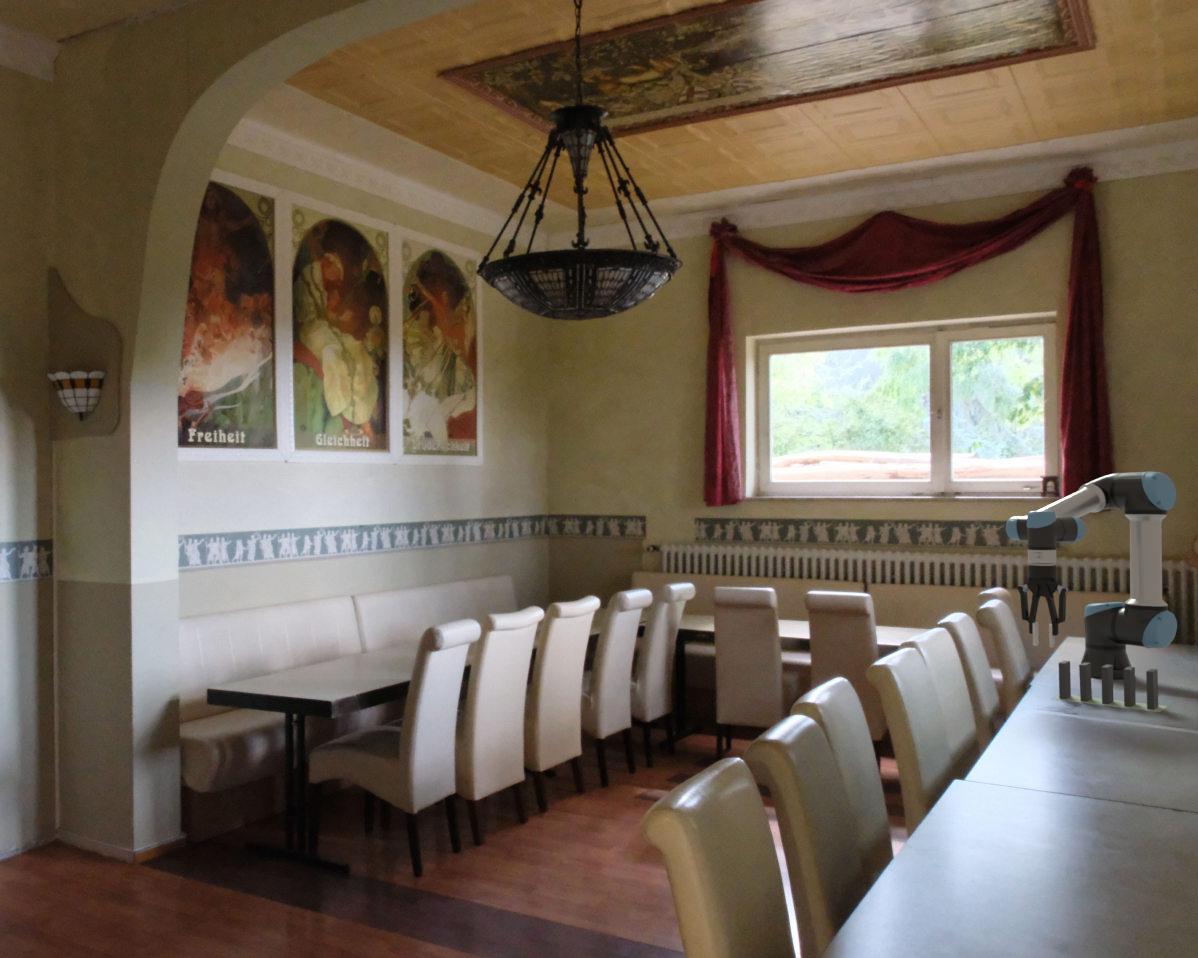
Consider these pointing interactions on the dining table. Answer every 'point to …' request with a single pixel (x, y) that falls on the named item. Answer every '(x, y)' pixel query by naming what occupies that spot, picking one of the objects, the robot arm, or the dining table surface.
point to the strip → (1114, 704)
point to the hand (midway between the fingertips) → (1044, 645)
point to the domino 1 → (1064, 680)
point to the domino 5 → (1152, 688)
